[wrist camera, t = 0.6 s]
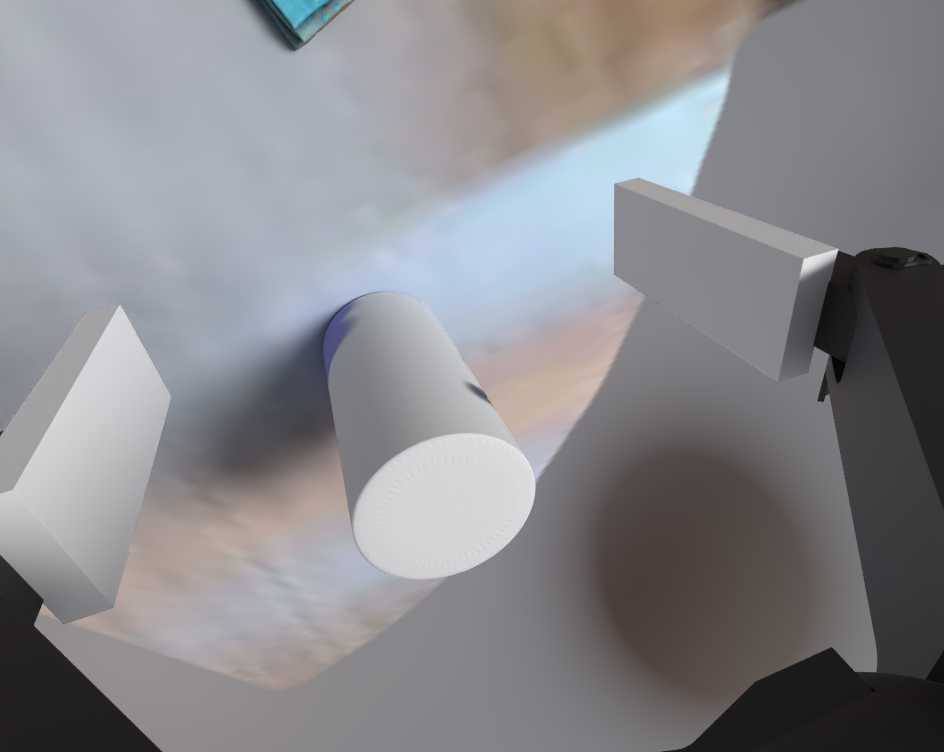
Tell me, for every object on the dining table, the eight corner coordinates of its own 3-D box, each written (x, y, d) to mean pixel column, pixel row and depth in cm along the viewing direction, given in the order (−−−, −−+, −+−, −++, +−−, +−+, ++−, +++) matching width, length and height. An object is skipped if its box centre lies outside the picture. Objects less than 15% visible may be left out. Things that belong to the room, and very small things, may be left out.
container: (458, 368, 48) (554, 529, 32) (355, 417, 47) (399, 608, 31) (417, 270, 43) (508, 403, 26) (299, 323, 42) (316, 495, 25)
